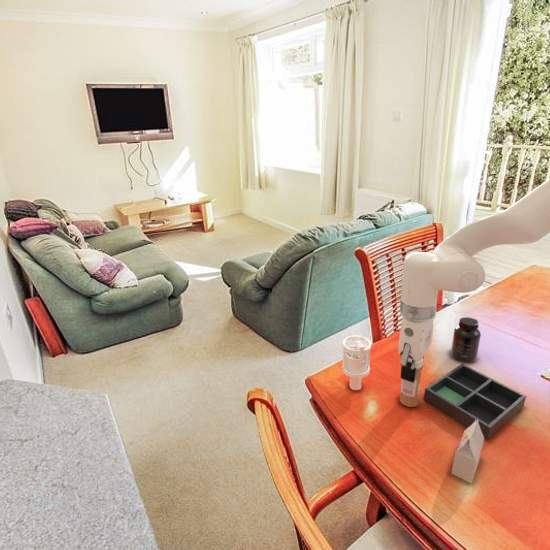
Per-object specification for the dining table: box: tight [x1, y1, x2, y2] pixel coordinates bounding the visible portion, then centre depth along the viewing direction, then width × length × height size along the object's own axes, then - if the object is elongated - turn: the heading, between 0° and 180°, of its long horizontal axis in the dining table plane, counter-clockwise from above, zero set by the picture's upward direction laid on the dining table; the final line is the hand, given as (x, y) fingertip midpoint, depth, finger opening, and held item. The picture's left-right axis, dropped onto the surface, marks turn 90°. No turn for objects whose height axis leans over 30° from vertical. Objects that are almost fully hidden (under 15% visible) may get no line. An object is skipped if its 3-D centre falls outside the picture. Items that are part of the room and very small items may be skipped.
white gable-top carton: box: [451, 420, 485, 484], centre depth 74 cm, size 4×7×10 cm, turn 141°
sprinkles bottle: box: [399, 353, 424, 408], centre depth 91 cm, size 5×5×14 cm
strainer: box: [341, 334, 372, 391], centre depth 97 cm, size 7×7×15 cm
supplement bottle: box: [450, 316, 481, 364], centre depth 107 cm, size 7×7×12 cm
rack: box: [423, 363, 527, 441], centre depth 92 cm, size 16×16×4 cm
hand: (411, 373), depth 90 cm, fingers closed on sprinkles bottle, 4 cm apart
